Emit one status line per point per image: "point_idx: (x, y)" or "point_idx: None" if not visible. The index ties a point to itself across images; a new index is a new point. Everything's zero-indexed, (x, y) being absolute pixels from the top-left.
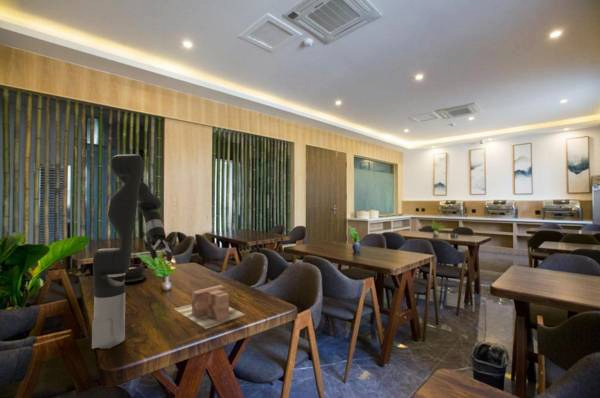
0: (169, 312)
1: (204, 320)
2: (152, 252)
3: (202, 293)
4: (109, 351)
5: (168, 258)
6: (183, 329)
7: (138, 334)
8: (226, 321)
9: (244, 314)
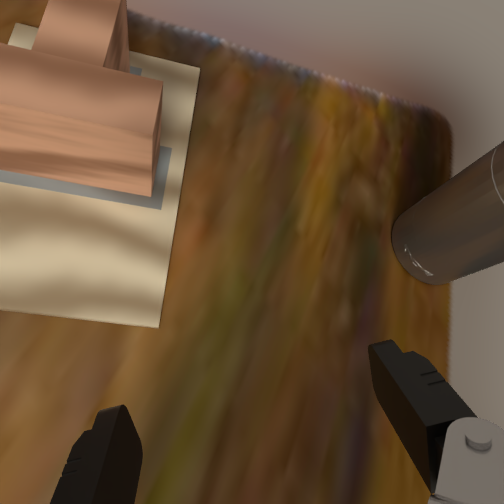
0: (184, 324)
1: None
2: (456, 401)
3: (133, 76)
4: None
5: (129, 459)
6: (239, 137)
7: (353, 225)
8: None
9: (18, 27)
